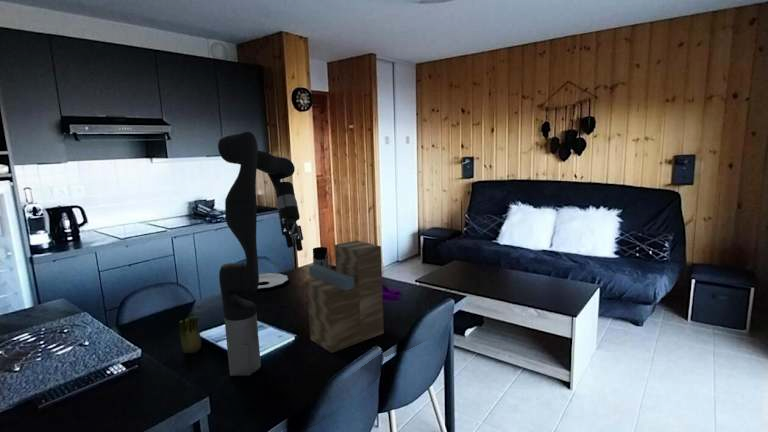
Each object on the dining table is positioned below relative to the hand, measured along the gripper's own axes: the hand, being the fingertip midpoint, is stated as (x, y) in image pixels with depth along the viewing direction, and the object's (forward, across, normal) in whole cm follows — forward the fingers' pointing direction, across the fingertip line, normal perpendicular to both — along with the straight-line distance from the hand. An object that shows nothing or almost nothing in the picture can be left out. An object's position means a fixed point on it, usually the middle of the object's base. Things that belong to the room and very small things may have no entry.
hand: (295, 248), depth 159 cm
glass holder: (+1, -67, -13) cm, 68 cm away
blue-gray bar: (+16, +7, +13) cm, 22 cm away
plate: (-2, -54, -41) cm, 68 cm away
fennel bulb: (+28, +14, -37) cm, 49 cm away
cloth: (+22, -44, +20) cm, 53 cm away
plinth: (+35, -4, +12) cm, 37 cm away
